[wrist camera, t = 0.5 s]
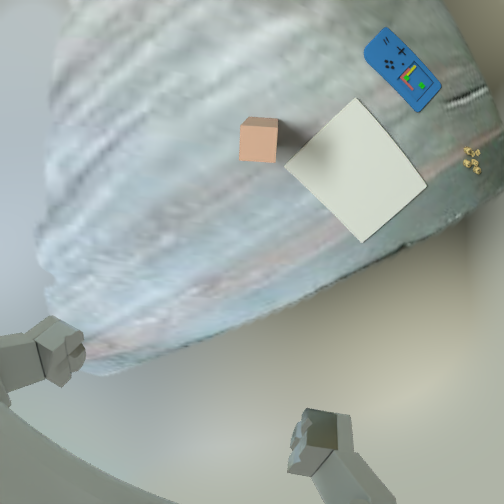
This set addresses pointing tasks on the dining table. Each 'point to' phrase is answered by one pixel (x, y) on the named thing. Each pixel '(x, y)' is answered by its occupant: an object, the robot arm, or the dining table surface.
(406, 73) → the handheld gaming device
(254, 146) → the terracotta block
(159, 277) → the dining table surface
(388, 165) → the white mat
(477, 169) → the popcorn pieces
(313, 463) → the robot arm
